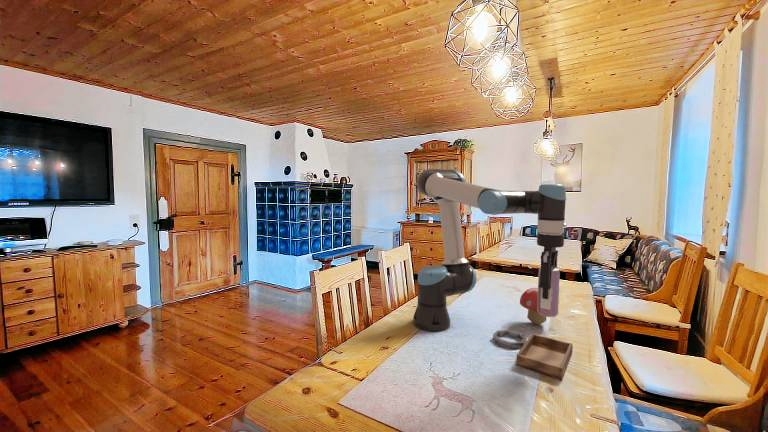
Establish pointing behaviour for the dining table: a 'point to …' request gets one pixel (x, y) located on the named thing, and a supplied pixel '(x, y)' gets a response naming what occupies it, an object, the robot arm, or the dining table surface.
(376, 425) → the dining table surface
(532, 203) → the robot arm
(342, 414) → the dining table surface
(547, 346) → the crate
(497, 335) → the collar
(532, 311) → the decorative mushroom
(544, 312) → the beverage can
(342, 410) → the dining table surface
